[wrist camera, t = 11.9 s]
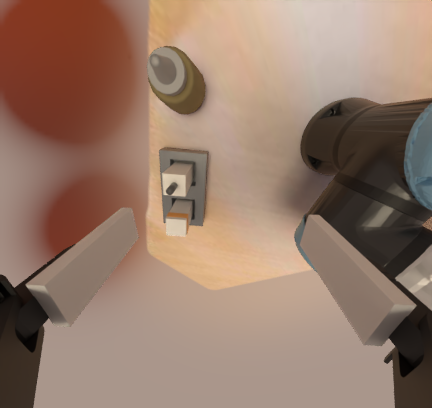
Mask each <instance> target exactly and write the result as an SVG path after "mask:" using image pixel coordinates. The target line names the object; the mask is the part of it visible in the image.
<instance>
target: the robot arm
mask: <svg viewBox="0 0 432 408" xmlns="http://www.w3.org/2000/svg"><path fill="white" fill-rule="evenodd" d="M301 154H302V157H303V160H304V162H305V163H306V164H307V166H308V167H309V168H311V169H312V170H314V171H316V172H318V173H321V174H324V175H336V176H335V177H334V179H333V180H332V181H331V182H330V184H329V185H328V186H327V188H326V189H325V190H324V192H323V193H322V194H321V196H320V197H319V198H318V200H317V201H316V202H315V204H314V205H313V206H312V208H311V209H310V210H309V212H308V213H307V214H305V215H304V217H303V220H302V221H301V223H300V224H299V226H298V228H297V229H296V231H295V234H294V238H295V242H296V246H297V248H298V250H299V252H300V253H301V255H302V256H303V258H304V259H305V260H306V261H307V263H308V264H309V265H310V266H311V267H312V268H313V269H314V270H315V271H316V272H317V273H318V274H319V276H320V277H321V279H322V280H323V282H324V284H325V285H326V287H327V288H328V290H329V291H330V293H331V295H332V296H333V298H334V299H335V301H336V302H337V304H338V305H339V307H340V309H341V310H342V312H343V313H344V315H345V316H346V318H347V320H348V321H349V323H350V324H351V326H352V327H353V329H354V330H355V332H356V333H357V335H358V337H359V338H360V340H361V341H362V343H363V344H364V345H375V346H382V345H383V344H384V343H385V342H386V340H387V339H388V338H389V339H390V340H391V341H392V343H393V344H394V345H395V346H396V347H395V348H394V349H393V350H392V351H391V352H390V353H389V354H388V355H387V356H386V357H385V359H384V362H385V363H387V364H388V363H389V362H390V361H391V360H393V375H394V376H393V377H394V396H395V397H394V398H395V408H432V231H431V230H429V229H427V228H425V227H423V226H422V224H424V223H425V222H426V221H427V220H428V219H429V218H430V217H431V216H432V98H428V99H420V100H413V101H405V102H397V103H390V104H383V105H381V104H378V103H375V102H372V101H370V100H367V99H363V98H348V99H343V100H339V101H335V102H333V103H331V104H329V105H327V106H325V107H324V108H323V109H321V110H320V111H319V112H318V113H317V114H316V115H315V116H314V117H313V118H312V119H311V121H310V122H309V124H308V125H307V127H306V129H305V131H304V133H303V136H302V141H301ZM138 238H139V237H138V233H137V229H136V224H135V220H134V215H133V211H132V208H121V209H120V210H118V211H117V212H116V213H115V214H113V215H112V216H111V217H110V218H108V219H107V220H106V221H105V222H103V223H102V224H101V225H100V226H98V227H97V228H96V229H95V230H94V231H92V232H91V233H90V234H88V235H87V236H86V237H84V238H83V239H82V240H81V241H79V242H78V243H77V244H74V245H72V246H70V247H68V248H66V249H65V250H63V251H62V252H60V253H59V254H58V255H56V256H55V258H53V259H52V260H50V261H49V262H47V264H45V265H44V266H43V267H41V268H40V269H38V270H37V271H36V272H34V273H33V274H32V275H31V276H29V277H28V278H27V279H25V280H24V281H23V282H22V283H20V284H19V285H18V286H16V287H15V288H14V287H13V286H12V285H11V283H10V282H9V281H8V279H7V278H6V277H5V276H3V275H0V408H33V405H34V398H35V391H36V384H37V378H38V371H39V364H40V358H41V351H42V344H43V338H44V327H43V324H44V323H45V322H46V321H47V319H48V318H49V319H50V320H51V322H52V323H53V325H54V326H66V327H70V326H71V325H72V324H73V323H74V321H75V320H76V319H77V318H78V316H79V315H80V314H81V312H82V311H83V310H84V308H85V307H86V306H87V305H88V303H89V302H90V301H91V299H92V298H93V297H94V295H95V294H96V293H97V291H98V290H99V289H100V288H101V286H102V285H103V283H104V282H105V281H106V280H107V278H108V277H109V276H110V274H111V273H112V272H113V271H114V269H115V268H116V267H117V265H118V264H119V263H120V261H121V260H122V259H123V258H124V256H125V255H126V254H127V252H128V251H129V250H130V248H131V247H132V246H133V244H134V243H135V242H136V240H137V239H138Z"/></svg>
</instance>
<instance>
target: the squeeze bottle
mask: <svg viewBox="0 0 432 408" xmlns="http://www.w3.org/2000/svg"><path fill="white" fill-rule="evenodd" d="M147 72H148V80H149V83H150V85H151V88H152V90H153V92H154V93H155V94H156V96H157V97H158V98H159V99H160V100H161V101H162V102H164V103H165V104H166V105H167V106H168V107H170V108H171V109H172V110H174V111H176V112H178V113H180V114H189V113H192V112H195V111H196V110H197V109H198V108H199V107H200V106H201V105H202V102H203V99H204V97H205V83H204V79H203V76H202V74H201V73H200V71H199V70H198V68H197V67H196V66H195V65H194V63H193V62H192V61H191V60H190V59H189V57H188V56H187V55H186V54H185V53H184V52H183V51H181V50H179V49H178V48H176V47H171V46H164V47H160V48H158V49H155V50H154V51H153V52H152V54H151V55H150V56H149V59H148V63H147Z"/></svg>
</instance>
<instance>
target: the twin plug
mask: <svg viewBox="0 0 432 408" xmlns="http://www.w3.org/2000/svg"><path fill="white" fill-rule="evenodd" d="M162 179H163V195H171V196H183V197H186V195H187V192H188V190H189V188H190V186H191V184H192V182H193V180H194V162H188V161H176V162H175V163H174V164H172V165H171V166H170V167H169V168H168V169H167V170H165V171H164V172H163V173H162Z"/></svg>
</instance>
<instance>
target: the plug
mask: <svg viewBox="0 0 432 408" xmlns="http://www.w3.org/2000/svg"><path fill="white" fill-rule="evenodd" d="M193 211H194V200H192V199H180V198H177V199H176V201H175V203H174V204H173V206H172V208H171V210H170V212H169V213H168V214H167V216H166V234H167V235H171V236H184V237H186V235H187V233H188V228H189V225H190V222H191V218H192V215H193Z"/></svg>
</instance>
